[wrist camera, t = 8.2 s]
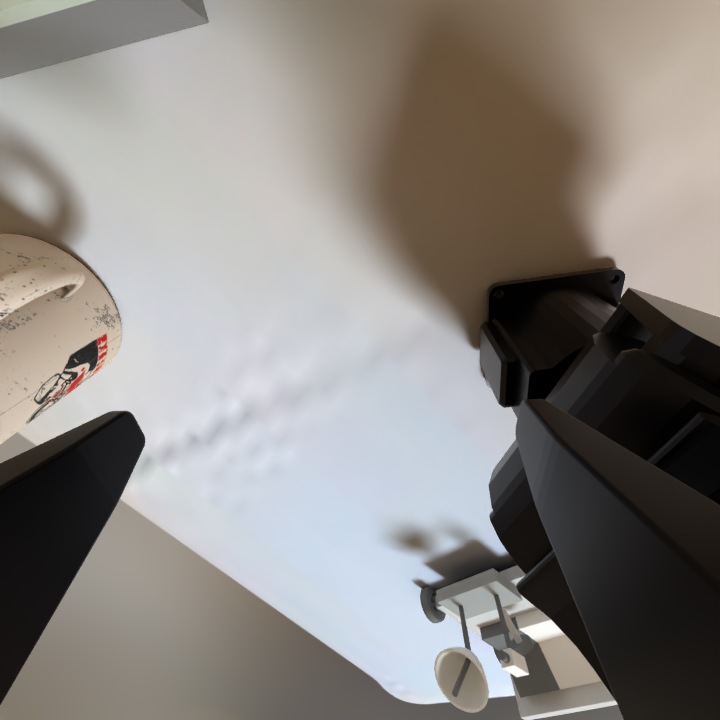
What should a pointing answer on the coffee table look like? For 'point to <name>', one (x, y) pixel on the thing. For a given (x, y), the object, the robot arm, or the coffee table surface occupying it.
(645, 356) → the robot arm
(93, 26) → the tub
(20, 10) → the lid
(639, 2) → the coffee table surface
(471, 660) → the toy rover
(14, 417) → the teacup with lid
